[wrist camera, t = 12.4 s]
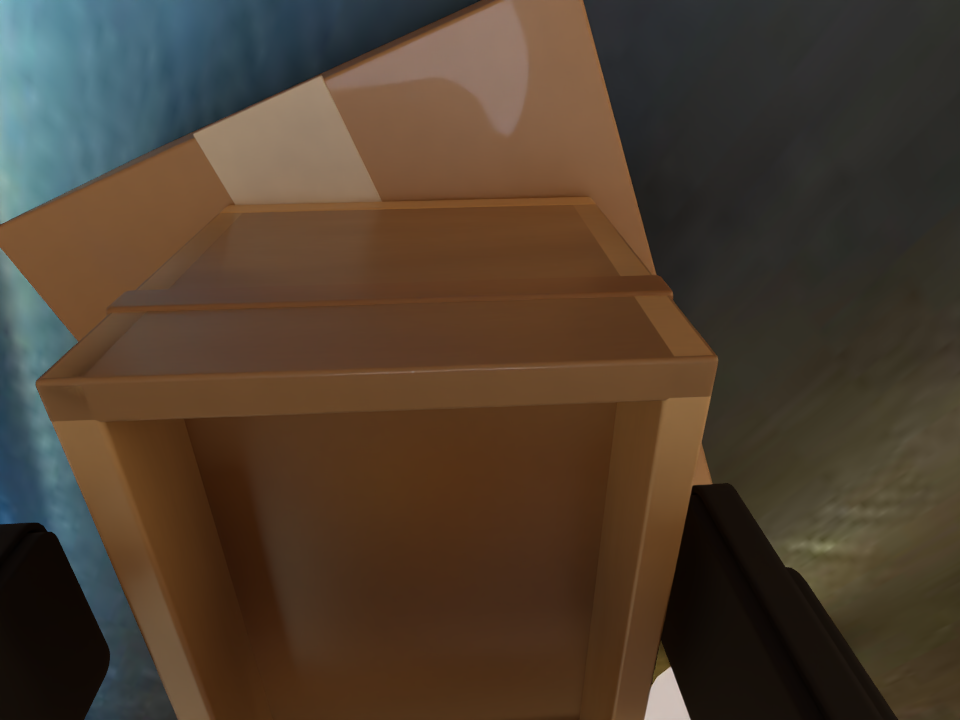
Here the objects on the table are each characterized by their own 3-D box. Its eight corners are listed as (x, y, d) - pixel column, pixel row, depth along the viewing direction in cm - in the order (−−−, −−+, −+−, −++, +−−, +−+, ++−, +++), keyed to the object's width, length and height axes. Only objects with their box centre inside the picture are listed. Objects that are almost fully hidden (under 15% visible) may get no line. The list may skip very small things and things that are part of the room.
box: (146, 150, 17) (-20, 230, 11) (521, -21, 16) (574, -40, 9) (363, 486, 23) (335, 656, 17) (646, 386, 22) (727, 534, 16)
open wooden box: (223, 201, 11) (21, 377, 6) (594, 193, 11) (727, 352, 6) (301, 566, 15) (229, 852, 10) (565, 554, 16) (627, 825, 10)
